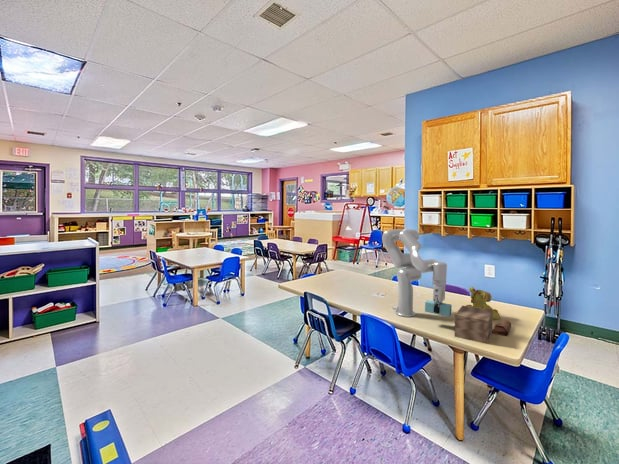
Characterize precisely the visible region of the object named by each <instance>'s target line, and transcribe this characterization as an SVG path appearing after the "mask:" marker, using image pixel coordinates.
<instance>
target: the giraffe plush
mask: <svg viewBox="0 0 619 464" xmlns="http://www.w3.org/2000/svg"><path fill="white" fill-rule="evenodd" d="M468 290H469V292H470V303H471V304H466V305H465V306H468V307H474V308H480V309H486V310H492V311H493V319H492V320H500V319H501V315H500V312H499V310H498V309H493V307H492V306H490V305H488V304H487V303H489V302H491V301H492V295H491V293H490V292H488V291H484V290H482V289H476V288H474V286H471V287H469V289H468Z"/></svg>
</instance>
